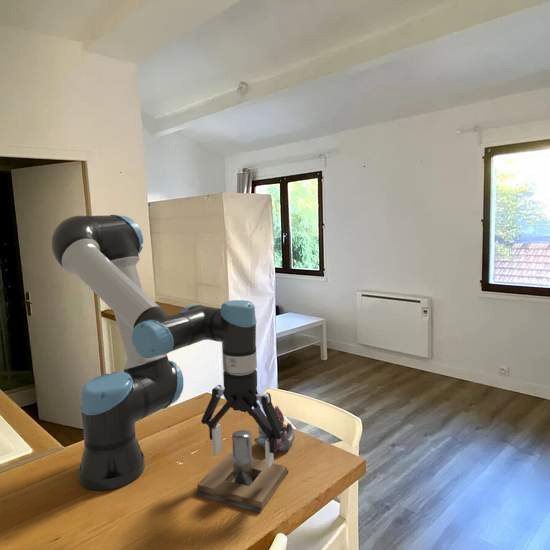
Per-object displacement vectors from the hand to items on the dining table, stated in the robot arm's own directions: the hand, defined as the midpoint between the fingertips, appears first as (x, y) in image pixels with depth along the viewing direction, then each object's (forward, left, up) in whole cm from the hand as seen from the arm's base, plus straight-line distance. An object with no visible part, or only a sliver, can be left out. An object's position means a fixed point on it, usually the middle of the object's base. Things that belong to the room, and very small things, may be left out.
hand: (242, 458), depth 100 cm
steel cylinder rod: (0, 0, -6) cm, 6 cm away
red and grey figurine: (0, +19, -6) cm, 20 cm away
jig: (0, 0, -6) cm, 6 cm away
